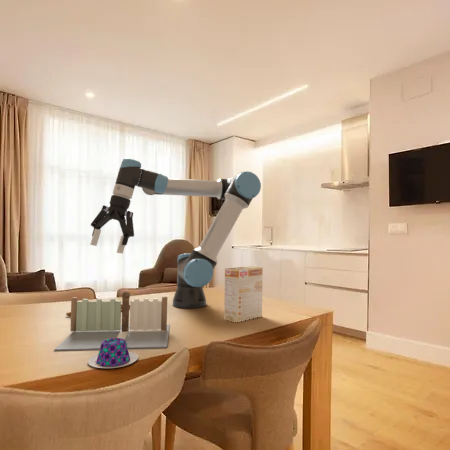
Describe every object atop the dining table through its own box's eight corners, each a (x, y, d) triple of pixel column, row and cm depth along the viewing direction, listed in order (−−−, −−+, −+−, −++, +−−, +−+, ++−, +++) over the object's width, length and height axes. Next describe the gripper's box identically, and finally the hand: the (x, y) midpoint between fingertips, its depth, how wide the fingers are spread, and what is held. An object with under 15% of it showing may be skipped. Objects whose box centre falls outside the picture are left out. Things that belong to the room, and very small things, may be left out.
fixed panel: (166, 330, 113) (167, 296, 113) (166, 332, 111) (167, 297, 111) (130, 331, 111) (131, 296, 112) (129, 333, 109) (130, 297, 110)
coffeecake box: (249, 313, 139) (250, 265, 140) (262, 316, 134) (263, 267, 135) (223, 319, 129) (224, 267, 129) (236, 323, 124) (237, 269, 124)
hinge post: (129, 331, 112) (130, 290, 112) (128, 333, 109) (129, 292, 109) (121, 331, 111) (122, 290, 112) (120, 333, 109) (121, 292, 109)
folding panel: (120, 329, 111) (121, 296, 111) (119, 330, 109) (120, 298, 109) (71, 329, 109) (72, 297, 109) (69, 331, 107) (70, 298, 107)
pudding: (76, 366, 82) (77, 344, 82) (109, 351, 93) (110, 331, 93) (117, 374, 78) (118, 351, 78) (147, 357, 89) (147, 337, 89)
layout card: (169, 326, 118) (169, 324, 118) (167, 347, 96) (167, 346, 96) (79, 327, 114) (79, 326, 114) (54, 350, 92) (54, 349, 92)
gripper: (91, 189, 136) (75, 240, 134) (140, 199, 126) (124, 255, 124) (104, 194, 143) (89, 243, 141) (152, 204, 133) (137, 257, 131)
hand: (106, 249), depth 132 cm, fingers open, 13 cm apart
